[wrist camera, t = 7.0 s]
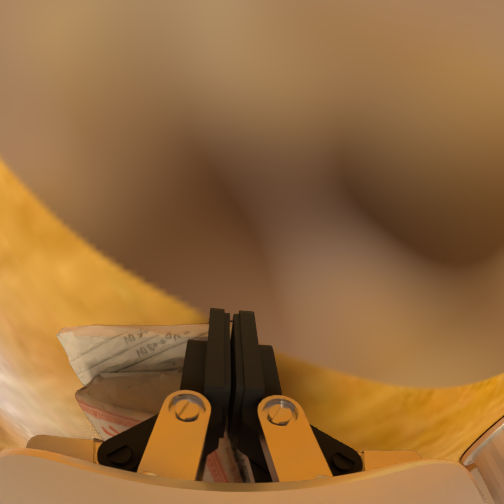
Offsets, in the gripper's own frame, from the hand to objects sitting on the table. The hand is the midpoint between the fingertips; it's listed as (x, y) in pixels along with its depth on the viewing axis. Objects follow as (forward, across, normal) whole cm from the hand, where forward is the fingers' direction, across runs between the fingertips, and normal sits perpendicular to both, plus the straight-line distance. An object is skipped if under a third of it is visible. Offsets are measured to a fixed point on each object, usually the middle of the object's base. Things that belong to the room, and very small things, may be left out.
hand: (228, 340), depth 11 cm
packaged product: (+2, +2, +10) cm, 10 cm away
